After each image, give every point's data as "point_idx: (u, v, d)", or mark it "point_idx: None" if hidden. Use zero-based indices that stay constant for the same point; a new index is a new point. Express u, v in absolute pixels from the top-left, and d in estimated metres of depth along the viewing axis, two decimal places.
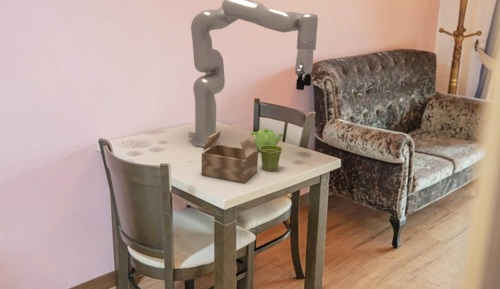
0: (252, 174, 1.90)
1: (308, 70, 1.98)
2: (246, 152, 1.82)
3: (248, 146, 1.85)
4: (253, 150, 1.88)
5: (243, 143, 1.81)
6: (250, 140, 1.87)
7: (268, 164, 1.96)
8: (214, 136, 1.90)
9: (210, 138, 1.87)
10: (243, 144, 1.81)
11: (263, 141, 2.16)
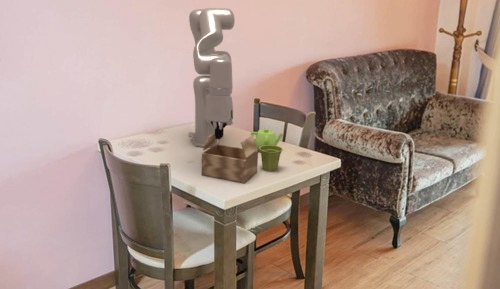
0: (252, 174, 1.90)
1: None
2: (246, 152, 1.82)
3: (248, 146, 1.85)
4: (253, 150, 1.88)
5: (243, 143, 1.81)
6: (250, 140, 1.87)
7: (268, 164, 1.96)
8: (214, 136, 1.90)
9: (210, 138, 1.87)
10: (243, 144, 1.81)
11: (263, 141, 2.16)
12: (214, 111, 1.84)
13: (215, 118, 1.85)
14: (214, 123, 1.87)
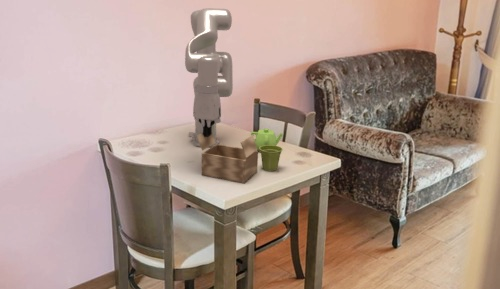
0: (252, 174, 1.90)
1: None
2: (246, 152, 1.82)
3: (248, 146, 1.85)
4: (253, 150, 1.88)
5: (243, 143, 1.81)
6: (250, 140, 1.87)
7: (268, 164, 1.96)
8: None
9: (200, 136, 1.88)
10: (243, 144, 1.81)
11: (263, 141, 2.16)
12: (202, 109, 1.86)
13: (203, 116, 1.86)
14: (202, 121, 1.89)
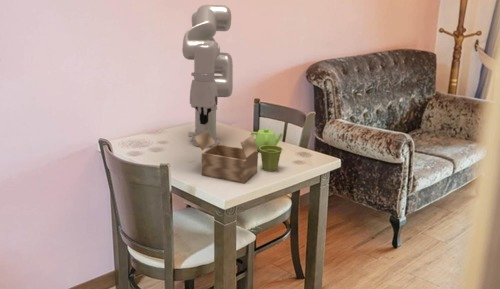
0: (252, 174, 1.90)
1: None
2: (246, 152, 1.82)
3: (248, 146, 1.85)
4: (253, 150, 1.88)
5: (243, 143, 1.81)
6: (250, 140, 1.87)
7: (268, 164, 1.96)
8: (202, 135, 1.92)
9: (197, 137, 1.89)
10: (243, 144, 1.81)
11: (263, 141, 2.16)
12: (198, 96, 1.85)
13: (199, 103, 1.86)
14: (199, 108, 1.89)
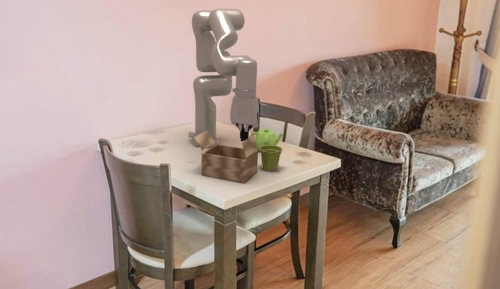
0: (252, 174, 1.90)
1: None
2: (247, 152, 1.82)
3: (249, 146, 1.84)
4: (253, 150, 1.87)
5: (244, 143, 1.81)
6: (251, 139, 1.87)
7: (268, 164, 1.96)
8: (202, 135, 1.92)
9: (197, 137, 1.89)
10: (245, 144, 1.81)
11: (263, 141, 2.16)
12: (240, 113, 1.80)
13: (241, 120, 1.81)
14: (239, 125, 1.83)
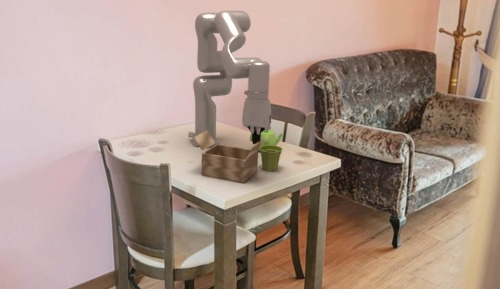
0: (252, 174, 1.90)
1: None
2: (250, 153, 1.81)
3: (255, 148, 1.84)
4: (255, 151, 1.87)
5: (255, 146, 1.80)
6: (260, 142, 1.86)
7: (268, 164, 1.96)
8: (202, 135, 1.92)
9: (197, 137, 1.89)
10: (254, 147, 1.80)
11: (263, 141, 2.16)
12: (252, 115, 1.79)
13: (253, 123, 1.79)
14: (251, 128, 1.82)
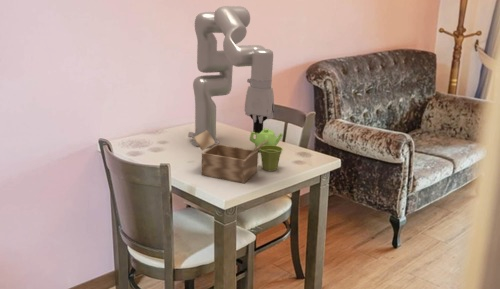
0: (252, 174, 1.90)
1: None
2: (251, 154, 1.81)
3: (257, 149, 1.84)
4: None
5: (257, 148, 1.80)
6: None
7: (268, 164, 1.96)
8: (202, 135, 1.92)
9: (197, 137, 1.89)
10: (256, 149, 1.80)
11: (263, 141, 2.16)
12: (255, 104, 1.77)
13: (255, 111, 1.78)
14: (254, 116, 1.80)
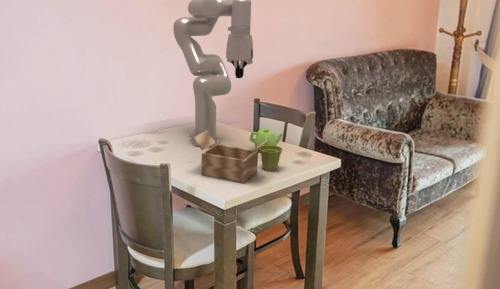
0: (252, 174, 1.90)
1: None
2: (251, 154, 1.81)
3: (257, 149, 1.84)
4: None
5: (257, 148, 1.80)
6: None
7: (268, 164, 1.96)
8: (202, 135, 1.92)
9: (197, 137, 1.89)
10: (256, 149, 1.80)
11: (263, 141, 2.16)
12: (235, 50, 1.92)
13: (236, 57, 1.92)
14: (235, 62, 1.95)
